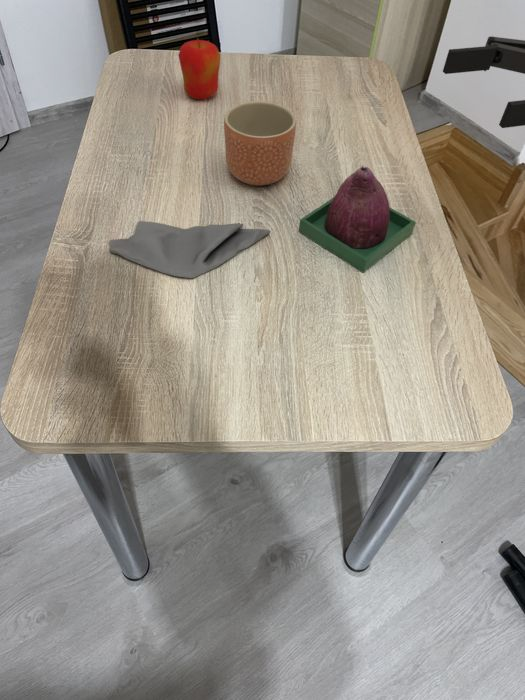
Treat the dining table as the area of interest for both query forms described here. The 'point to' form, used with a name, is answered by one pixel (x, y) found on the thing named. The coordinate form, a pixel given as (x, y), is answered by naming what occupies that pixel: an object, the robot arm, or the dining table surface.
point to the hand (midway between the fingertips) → (474, 86)
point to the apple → (200, 68)
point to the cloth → (184, 246)
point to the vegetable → (359, 211)
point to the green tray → (358, 258)
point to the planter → (259, 141)
